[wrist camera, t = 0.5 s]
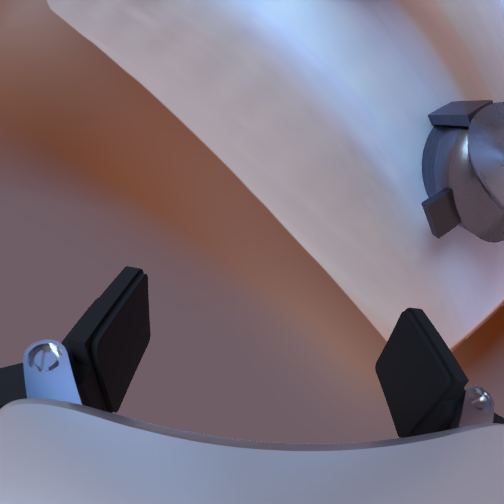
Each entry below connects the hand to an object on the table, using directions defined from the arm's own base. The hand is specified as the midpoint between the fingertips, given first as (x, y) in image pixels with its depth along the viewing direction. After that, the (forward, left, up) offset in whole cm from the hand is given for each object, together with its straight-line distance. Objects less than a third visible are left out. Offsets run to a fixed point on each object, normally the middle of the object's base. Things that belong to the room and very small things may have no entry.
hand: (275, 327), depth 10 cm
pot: (-14, +30, -32) cm, 45 cm away
